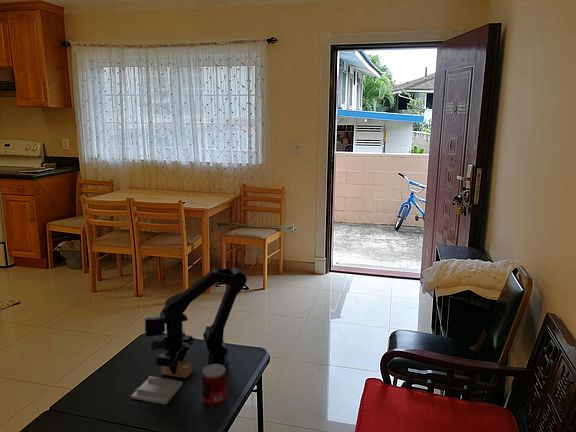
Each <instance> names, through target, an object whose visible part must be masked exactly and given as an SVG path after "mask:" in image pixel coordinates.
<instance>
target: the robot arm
mask: <svg viewBox="0 0 576 432" xmlns="http://www.w3.org/2000/svg"><path fill="white" fill-rule="evenodd" d="M247 278H248V277H247V276H246V274H245V273H244V272H243V270H242V269H241V268H239V267H232V268H221V269H220V268H219V269H218V268H217V269H216V268H212V269H211V270H209V272H207V273H206V274H205V275H204V276H202V277H200V279H198V280H196V282H195V283H193V284H191V286H189V287H188V288H187V289H185V290H184V291H182V292H180V293H176V294H175V295H173V296H171V297H168V299H166V300H165V304H164V307H163V308H162V310H161V311H160V312H159V316H153V317H145V318H144V333H145V334H144V335H145V338H150V337H156V336H157V338H156V339H154V340H152V341H151V343H150V348H151V349H152V350H153V351H159V350H162V349H163V350H164V351H167V352H161V353H160V354H159V355H158V356H157V357H155V365H156V366H167V367H169V368H170V370H171V372H172V374H175V373H176V370H177V366H178V363H179V361H183V362H185V359H186V357H187V355H188V352H189V350H190V347H191V346H193V344H194V343H195V338H194V337H193V336H192V335H187V334H186V332H184V330H183V322H187V321H189V319H188V316H187V314H184V312H185V311H186V310H187V308H188V307H189V305H190V304H191V303H192V302H194V300H196V299H197V298H198V297H200V296H201V295H203V293H205V292H206V291H207V290H209V289H210V288H211V287H213V286H214V285H215V284H217V283H219V284H220V283H221V284H223V285H225V292H224V293H223V297H222V299H221V301H220V305H219V308H218V309H217V312H216V315H215V318H214V320H213V323H212V324H211V325H210V326H208V325H207V326H206V327H205V330H204V333H203V334H202V337H203V341H204V344H205V347H206V349H207V350H208V354H207V364H208V365H211V364H220V365H223V366H224V367H226V368H227V366H228V365H229V363H230V361H229V360H228V352H229V350H228V347H227V346H226V344H225V341H224V332H225V331H224V330H225V327H226V324H227V322H228V319H229V316H230V314H231V311H232V309H233V306H234V302H235V301H236V298H237V295H239V293H241V291H242V290H243V289H244V287H245V285H246V284H247V280H248V279H247ZM165 324H166V325H165ZM165 326H166V328H165ZM165 332H166V335H164V333H165ZM158 336H159V337H158ZM186 343H188V346H187V345H186ZM189 346H190V347H189Z"/></svg>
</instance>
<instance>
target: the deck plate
mask: <svg viewBox="0 0 576 432" xmlns="http://www.w3.org/2000/svg"><path fill="white" fill-rule="evenodd" d="M183 383H184V382H183V381H180V380H177V379H172V378H171V379H170V378H165V377H164V378H163V377H158V376H153V375H152V376H151V375H149V376H148V377H147V379H146V380H145V381H144V382H143V383H142V384H141V385H140V386H139V387H137V388H136V389H135V391H134V392H133V393H132V394H131V395H130V398H131V399H133V400H138V401H144V402H149V403H156V404H161V405H167V404H168V403H169V401H170V400H171V399H172V398H173V396H174V395H175V394H176V393H177V392H178V391H179V390H180V388H181V387H182V386H183Z"/></svg>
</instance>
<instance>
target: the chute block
mask: <svg viewBox="0 0 576 432" xmlns="http://www.w3.org/2000/svg"><path fill="white" fill-rule="evenodd" d="M191 373H192V362H190V361H179V363H178V366H177V370H176V373H175V374H172V372H171V370H170V368H169V367H167V366H161V375H164V376H165V375H166V376H171V377H177V378H184V379H188V377H189V376H190V375H191Z"/></svg>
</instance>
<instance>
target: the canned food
mask: <svg viewBox="0 0 576 432" xmlns="http://www.w3.org/2000/svg"><path fill="white" fill-rule="evenodd" d="M201 374H202V376H201V377H202V379H201V381H202V382H201V383H202V399H203V402H204V404H205V405H208V406H212V407H213V406H218V405H221V404H223V402H225V401H226V398H227V369H226V368H225V367H224V366H223V365H220V364H211V365H209V364H208V365H206V366H205V367H203V368H202V372H201Z"/></svg>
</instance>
